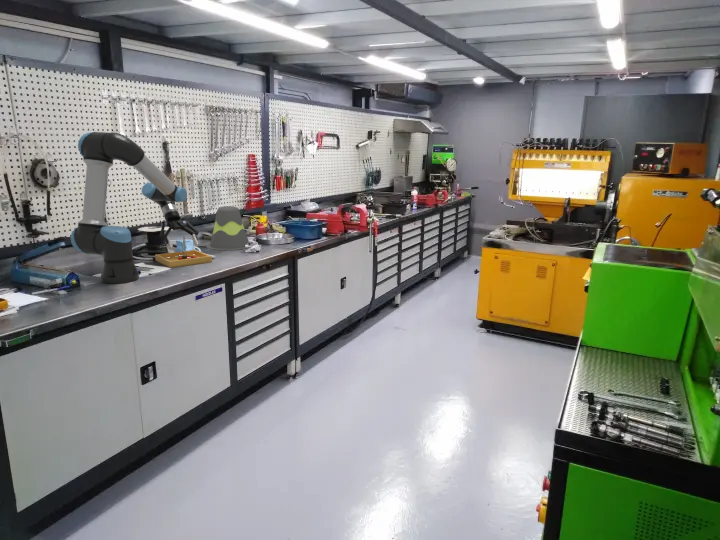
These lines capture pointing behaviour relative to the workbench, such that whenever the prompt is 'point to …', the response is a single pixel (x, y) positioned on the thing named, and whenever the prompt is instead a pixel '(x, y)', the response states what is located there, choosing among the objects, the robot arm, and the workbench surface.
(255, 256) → the workbench surface
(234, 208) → the gray green truncated cone
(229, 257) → the workbench surface
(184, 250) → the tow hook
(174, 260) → the parts tray
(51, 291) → the workbench surface
